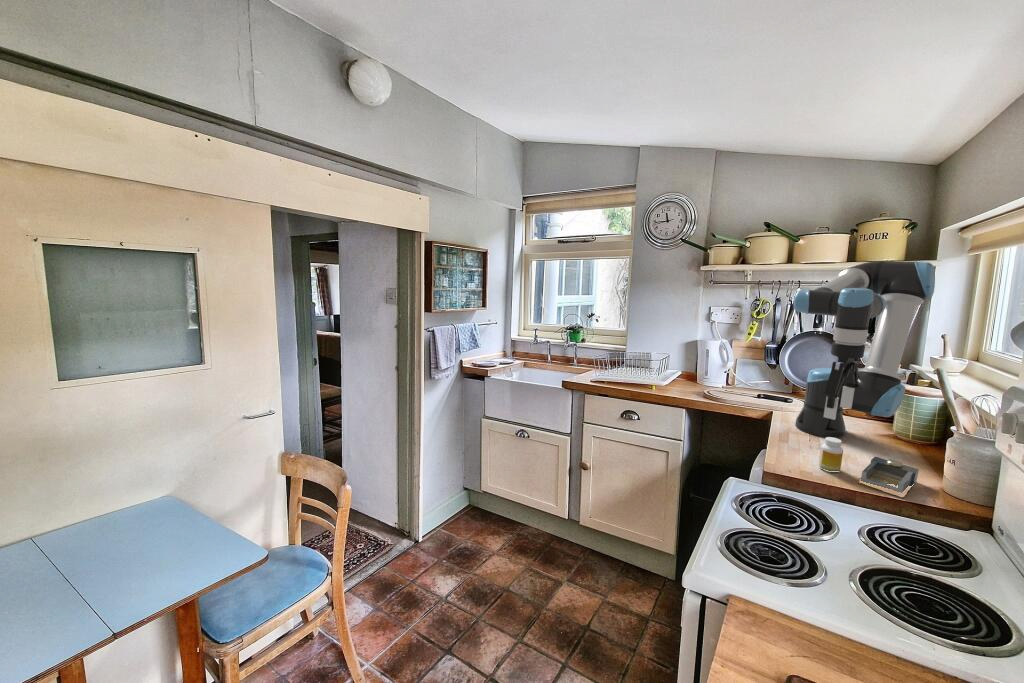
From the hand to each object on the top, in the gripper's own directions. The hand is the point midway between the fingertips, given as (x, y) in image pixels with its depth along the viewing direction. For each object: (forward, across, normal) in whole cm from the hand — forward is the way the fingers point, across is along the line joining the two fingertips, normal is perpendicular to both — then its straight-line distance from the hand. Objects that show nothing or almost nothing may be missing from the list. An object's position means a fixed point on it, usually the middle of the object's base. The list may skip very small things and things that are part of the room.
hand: (837, 412), depth 129 cm
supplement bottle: (+18, 0, 0) cm, 19 cm away
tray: (+18, -4, +13) cm, 23 cm away
